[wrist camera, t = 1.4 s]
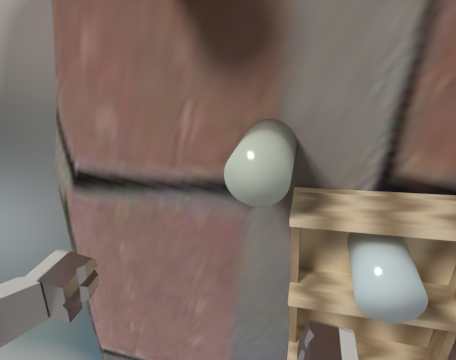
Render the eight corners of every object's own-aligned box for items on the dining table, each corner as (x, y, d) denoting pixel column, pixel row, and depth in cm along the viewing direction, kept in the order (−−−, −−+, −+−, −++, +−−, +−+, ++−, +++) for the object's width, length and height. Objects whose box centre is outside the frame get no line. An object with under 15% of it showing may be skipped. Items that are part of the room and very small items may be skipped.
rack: (482, 197, 32) (521, 237, 26) (430, 345, 43) (449, 399, 37) (294, 186, 38) (289, 218, 32) (290, 322, 49) (287, 365, 43)
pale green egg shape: (297, 119, 34) (291, 147, 26) (296, 170, 37) (290, 209, 29) (242, 119, 36) (221, 145, 28) (245, 168, 38) (226, 204, 31)
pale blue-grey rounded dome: (409, 223, 35) (435, 280, 27) (399, 265, 37) (420, 327, 30) (350, 218, 36) (358, 270, 29) (344, 259, 39) (351, 316, 31)
